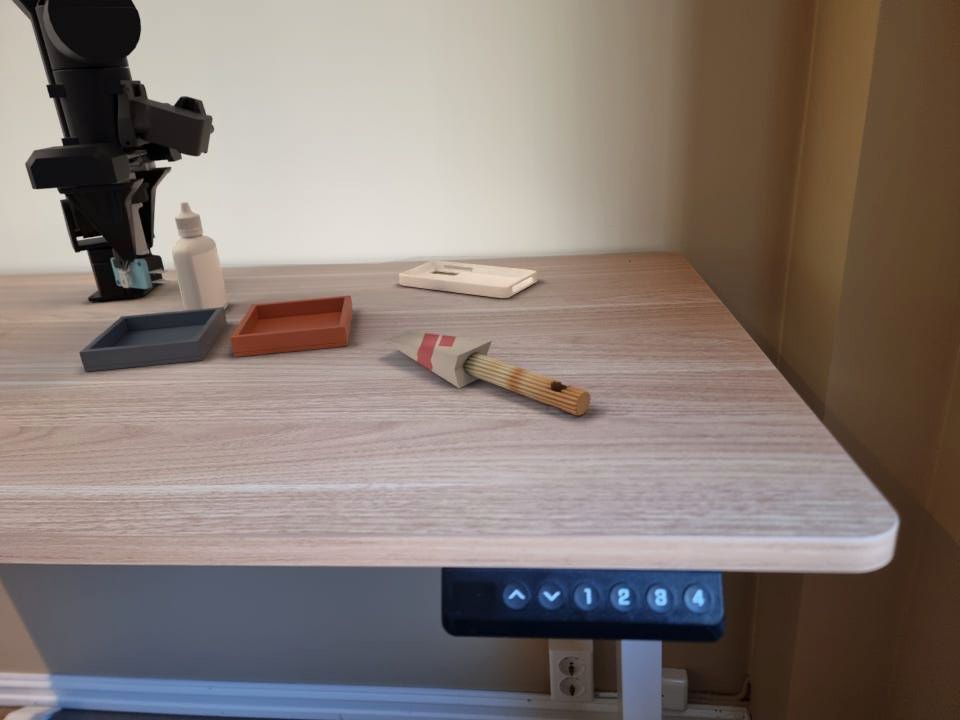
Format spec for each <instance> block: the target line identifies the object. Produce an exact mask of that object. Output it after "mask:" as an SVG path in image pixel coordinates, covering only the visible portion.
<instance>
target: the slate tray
mask: <svg viewBox="0 0 960 720" xmlns="http://www.w3.org/2000/svg"><path fill="white" fill-rule="evenodd" d="M227 325H228V320H227V316H226V310H224V307H218V308H208V309H197V310H186V311H185V310H176V311H166V312H154V313H146V314H143V313H142V314H132V315H123V316H120V317H119V318H118V319H116V320H115V322H113V323H112V324H111V325H110V326H109V327H107V328H106V329H105V330H103V332H102V333H100V334H98V336H97V337H95V338H94V339H92V341H91V342H89V344H87V345H86V346H85V347H84V348H82V350H80V351H79V352H78V353H79V356H80V360H81V362H82V366H83V369H84V370H83V371H84V372H86V373H87V372H97V371H106V370H107V371H108V370H117V369H128V368H138V367H139V368H140V367H147V366H148V367H149V366H156V365H157V366H158V365H169V364H177V363H179V364H180V363H188V362H197V361H203V360H204V359H205V357H206V356H207V354H208V353H209V352H210V350H211V349H212V347H213V346H214V345H215V343H216V341H217V340H218V339H219V337H220V336H221V334H222V333H223V331H224V330H225V328H226V327H227Z"/></svg>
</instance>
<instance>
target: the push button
mask: <svg viewBox="0 0 960 720" xmlns="http://www.w3.org/2000/svg"><path fill="white" fill-rule="evenodd" d="M130 179H136V176H135V172H130ZM148 187H149V184H148V183H147V182H142V183H141V185H140V186H139V188H138V189H137V191H136V192H135V194H134V195H133V197H132V199H131V203H132V212H133V222H134V231H135V240H136V255H137V257H136V259H135V260H129V261H124V260H122V259H121V257H120V256H119V255H118V254H117V253H116V252H115V250H114V249H112V251H113V255H114V258H111V263H112V267H113V271H114V275H115V278H116V279H115V280H116V283H117V285H118V286H123V287H124V288H129V287H132V288H140V289H148V288H152V287H154V288H156V287H158V286H162V285H164V284H167V283H170V282H171V280H170V279H169V280H168V279H164V278H163V274H165V273H168V272H169V270H165V267H164V263H163V259H162V257H161V255H159V254H153V253H152V251H151V249H152V248H150V245H149V243H146V241H145V237H144V232H143V228H142V224H141V220H140V216H139V212H138V210H139V208H140V207H142V206H143V205H142V202H146V201H147V200H149V197H148V193H147V189H146V188H148Z"/></svg>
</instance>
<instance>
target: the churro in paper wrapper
mask: <svg viewBox="0 0 960 720" xmlns="http://www.w3.org/2000/svg"><path fill="white" fill-rule="evenodd" d="M383 341H384V342H385V343H387V344H388V345H390V346H392V347H393V348H394V349H396V350H398V351H399V352H401V353H402V354H404V355H406V356H407V357H409V358H410V359H412V360H413V361H415V362H416V363H418V364H420V365H421V366H423V367H425V368H426V369H428V370H430V371H431V372H433V373H434V374H436V375H437V376H439V377H440V378H442V379H444V380H445V381H447V382H448V383H450V384H452V386H454V387H456V388H458V389H461V388H463V387H465V386H467V385H470V384H471V383H473V382H475V381H478V380H482V381H485V382H488V383H490V384H493V385H496V386H499V387H500V388H501V387H502V388H504V389H506V390H509V391H512V392H513V393H517V394H519V395H522V396H525V397H526V398H529V399H532V400H535V401H538V402H540V403H543V404H545V405H548V406H554V407H556V408H559V409H558V410H562V411H564V412H566V413H569V414H572V415H575V416H578V417H579V416H581V415H584V414H585V413H587V411H588V409H589V408H590V405H591V400H592V397H591V394H590V392H589V391H588V390H585V389H582V388H579V387H577V386H573V385H571V384H569V385H567V384H564V383H562V382H561V381H559V380H556V379H553V378H550V377H548V376H544V375H542V374H538V373H536V372H533V371H531V370H527V369H524V368H521V367H519V366H516V365H513V364H510V363H508V362H503V361H501V360H498V359H495V358H493V357H490V356H488V353H489V351H490V347H491V345H492V341H493V340H488V339H480V338H473V337H472V338H471V337H462V336H455V335H446V334H438V333H437V334H436V333H428V332H421V331H420V332H419V331H418V332H417V331H411V330H406V331H404V332H401V333H398V334H395V335H394V336H391V337H388V338H386V339H383Z"/></svg>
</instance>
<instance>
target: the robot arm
mask: <svg viewBox="0 0 960 720" xmlns="http://www.w3.org/2000/svg"><path fill="white" fill-rule="evenodd" d="M11 2H13V4H14V5H16V7H17V8H18V9H19V10H20V12H22V13H23V14H24V16H26V18H28V20H29V21H30V23H31V26H32V30H33V33H34V37H35V41H36V44H37V48H38V51H39V55H40V59H41V62H42V66H43V68H44V72H45V76H46V79H47V82H48V84H45V86H46V90H47V94H48V97H49V99H52V101H53V104H54V107H55V111H56V114H57V118H58V121H59V126H60V129H61V132H62V135H63V137H62V138H60V139H61V144H62V145H56V146H50V147H44V148H39V149H34V150H33V151H32V153H31V154H30V156H29V157H28V159H27V160H26V161H25V163H24V165H25V168H26V172H27V175H28V178H29V181H30V185H31V188H32V190H49V189H56V190H57V192H58V193H59V194H60V195H64V197H65V198H64V199H60V200H59V202H60V207H61V211H62V215H63V218H64V222H65V227H66V231H67V235H68V237H69V240H70V244H71V247H72V249H73V251H74V253H75V254H77V253H81V252H85V251H86V253H87V257H88V260H89V263H90V267H91V271H92V275H93V277H94V281H95V285H96V288H97V290H96V291H95V292H93V293H92V294H91V295H89V296H88V297H87V301H88V302H98V301H99V302H101V301H111V300H122V299H130V298H131V299H132V298H141V297H144V296H146V295H147V294H149V293H150V292H151V291H152V290H153V289H154V288H155V287H152V288H148V289H140V288H132V287H129V288H124V287H123V286H118V285H117V283H116V280H115V279H116V278H115V275H114V271H113V267H112V263H111V258H114V255H113V251H112V249H114V250H115V252H116V253H117V254H118V255H119V256H120V257H121V259H122V260H124V261H129V260H135V259H136V257H137V255H136V240H135V231H134V222H133V212H132V203H131V199H132V197H133V195H134V194H135V192H136V191H137V189H138V188H139V186H140V185H141V183H142V182H147V183H148V184H149V187H148V188H146V189H147V193H148V197H149V200H147V201H146V202H142V205H143V206H142V207H140V208H139V210H138V212H139V216H140V220H141V224H142V228H143V232H144V237H145V241H146V243H149V245H150V249H153V247H154V239H155V238H156V235H155V217H156V216H155V215H156V213H155V212H156V211H155V210H156V197H157V188H158V186H159V185H160V184H161V183H162V181H163V180H164V178H165V177H166V176H167V175H168V174H169V173H171V171H172V168H173V167H172V166H160V167H157V165H156V162H160V161H167V162H168V163H175V162H177V161H180V160H183V157H182V155H185V156H190V157H200V156H201V155H202V154H208V153H209V145H210V138H211V135H212V134H213V133H214V132H215V126H214V125H213V115H211V114H207V112H206V109H205V105H204V103H203V100H201V99H198V98H194V97H191V96H187V95H185V96H183V95H182V96H179V98H178V99H177V101H176V102H175V103H174V104H173V105H172V104H171V103H168V102H161V101H157V100H153V99H151V98H149V97H148V93H147V88H146V86H145V84H144V83H141V80H133V77H132V73H131V69H130V64H129V61H128V56H130V55H131V54H132V53H133V51H135V49H137V47H138V44H139V41H140V40H141V39H140V38H141V34H142V23H141V17H140V13H139V10H138V9H137V6H136V5H135V3H134V1H133V0H11ZM130 172H135V176H136V179H130ZM78 238H82V239H78Z"/></svg>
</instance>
